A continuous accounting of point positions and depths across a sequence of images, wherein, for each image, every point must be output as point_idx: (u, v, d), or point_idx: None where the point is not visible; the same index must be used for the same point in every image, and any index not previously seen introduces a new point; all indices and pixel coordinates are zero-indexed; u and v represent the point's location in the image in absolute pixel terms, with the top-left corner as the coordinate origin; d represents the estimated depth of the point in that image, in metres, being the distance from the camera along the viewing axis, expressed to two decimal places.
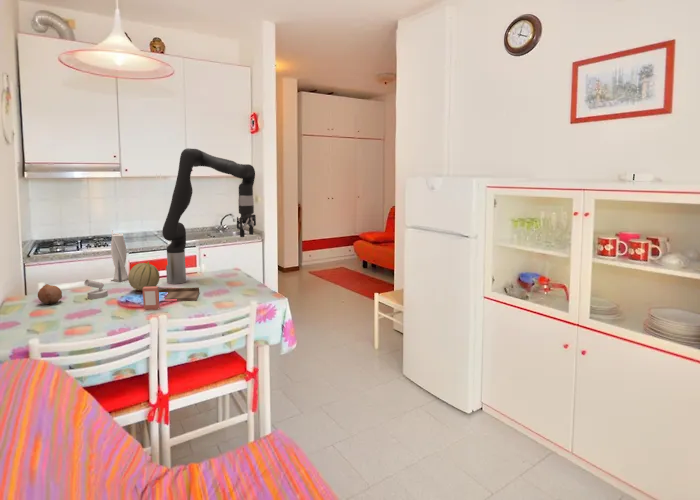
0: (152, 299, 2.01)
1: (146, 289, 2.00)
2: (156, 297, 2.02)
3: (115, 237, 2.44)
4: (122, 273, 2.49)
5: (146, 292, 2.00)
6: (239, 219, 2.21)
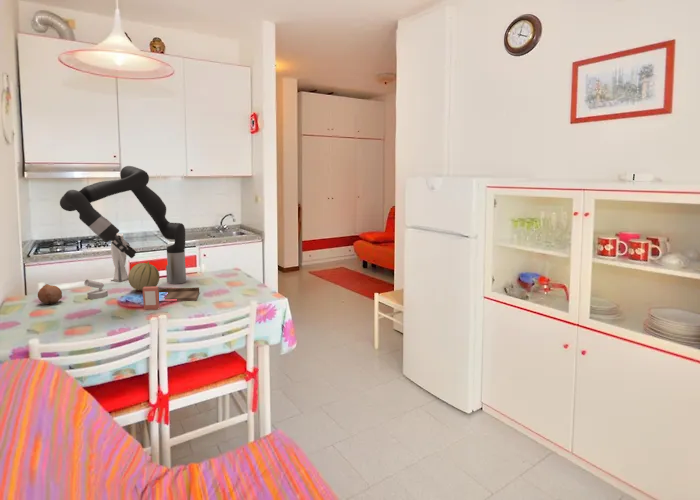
0: (152, 299, 2.01)
1: (146, 289, 2.00)
2: (156, 297, 2.02)
3: None
4: (122, 273, 2.49)
5: (146, 292, 2.00)
6: None
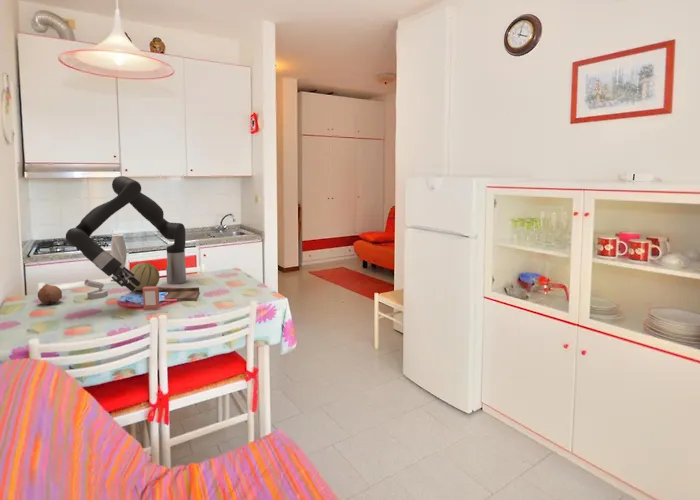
0: (152, 299, 2.01)
1: (146, 289, 2.00)
2: (156, 297, 2.02)
3: (115, 237, 2.44)
4: None
5: (146, 292, 2.00)
6: None
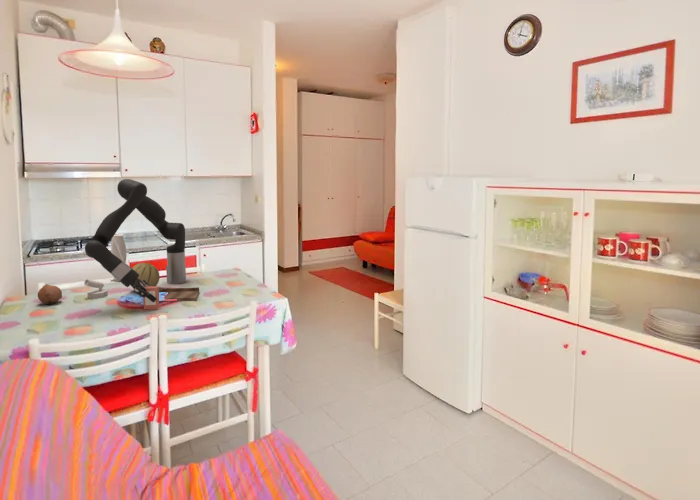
0: None
1: None
2: (156, 297, 2.02)
3: (115, 237, 2.44)
4: None
5: None
6: None
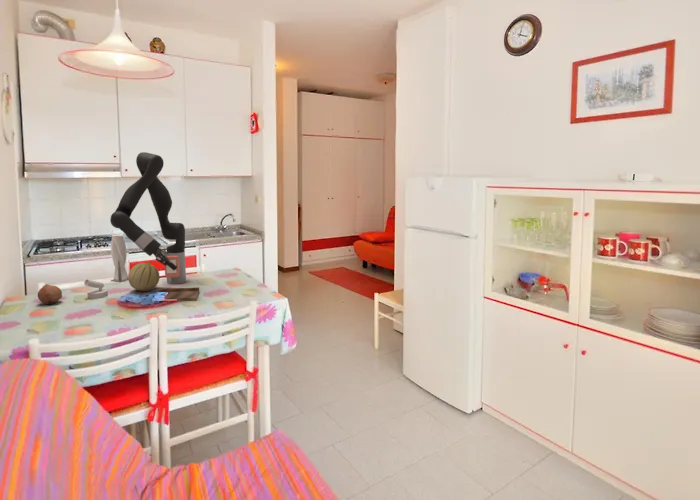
0: None
1: None
2: (176, 265, 2.15)
3: (115, 237, 2.44)
4: (122, 273, 2.49)
5: None
6: None
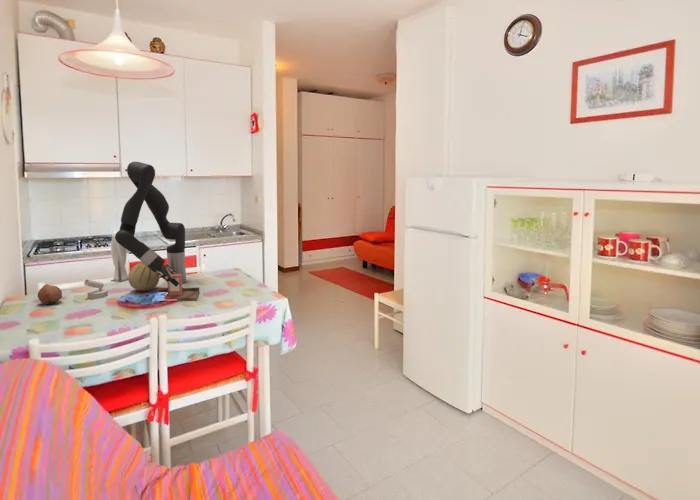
0: None
1: None
2: (179, 283, 2.18)
3: None
4: (122, 273, 2.49)
5: None
6: None
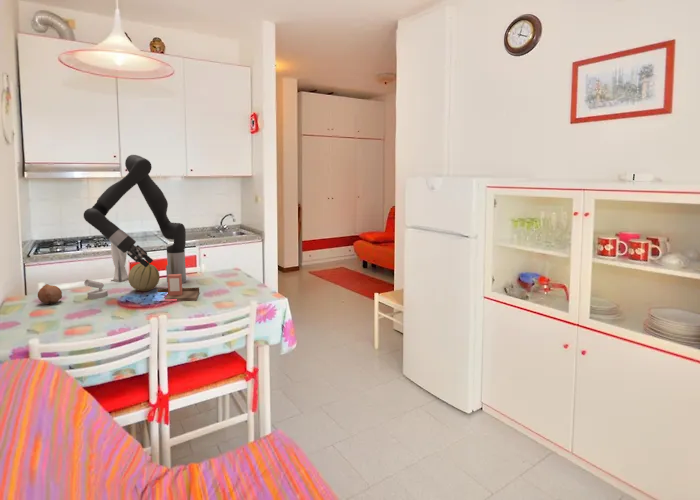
0: (176, 285, 2.18)
1: (171, 276, 2.17)
2: (179, 283, 2.18)
3: None
4: (122, 273, 2.49)
5: (171, 279, 2.17)
6: None
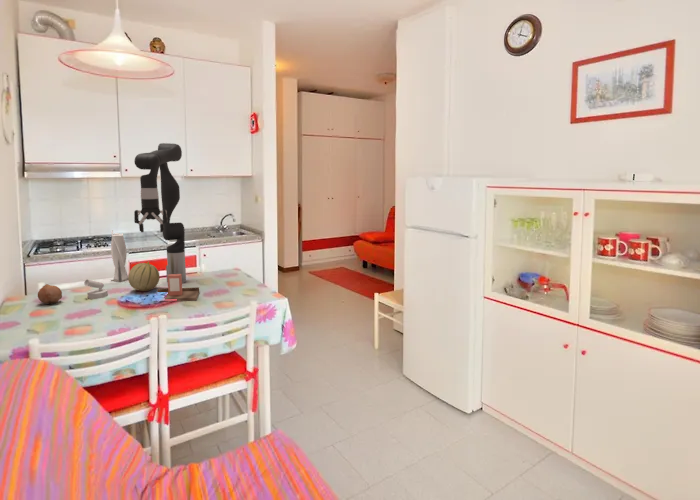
0: (176, 285, 2.18)
1: (171, 276, 2.17)
2: (179, 283, 2.18)
3: (115, 237, 2.44)
4: (122, 273, 2.49)
5: (171, 279, 2.17)
6: None
